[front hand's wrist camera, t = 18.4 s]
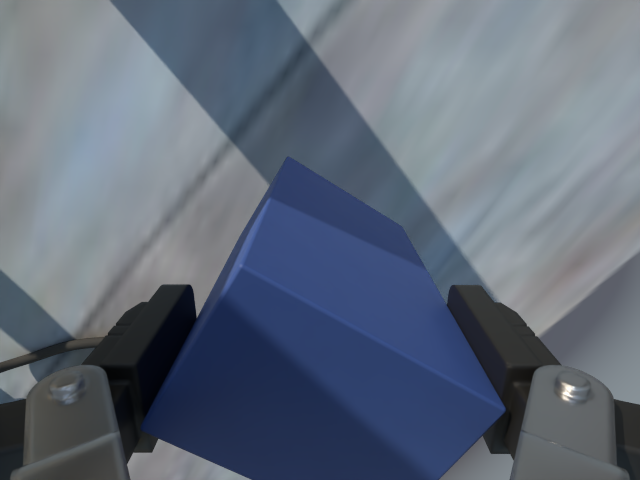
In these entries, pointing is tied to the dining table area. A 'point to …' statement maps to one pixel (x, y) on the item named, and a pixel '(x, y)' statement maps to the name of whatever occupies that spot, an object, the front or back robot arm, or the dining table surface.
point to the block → (324, 351)
